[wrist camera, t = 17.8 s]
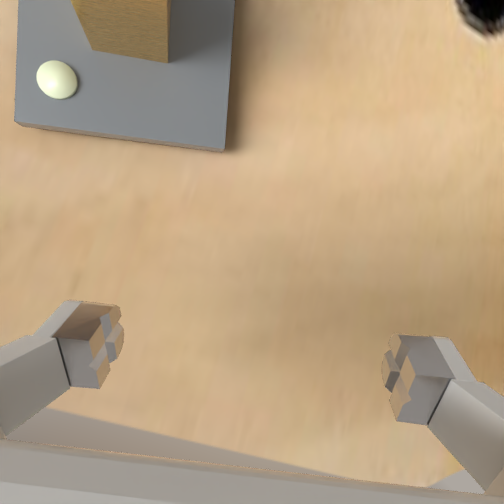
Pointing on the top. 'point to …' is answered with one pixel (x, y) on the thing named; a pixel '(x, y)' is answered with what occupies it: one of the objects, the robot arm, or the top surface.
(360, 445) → the top surface
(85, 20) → the block with dome knob
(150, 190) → the top surface
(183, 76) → the base
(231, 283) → the top surface
